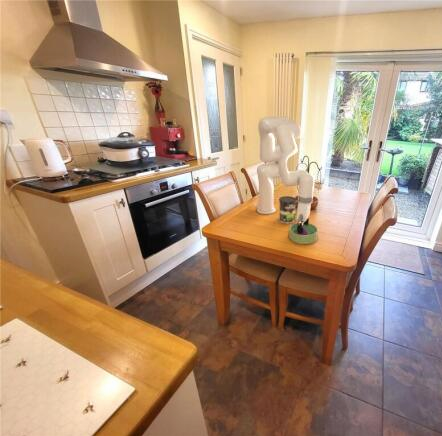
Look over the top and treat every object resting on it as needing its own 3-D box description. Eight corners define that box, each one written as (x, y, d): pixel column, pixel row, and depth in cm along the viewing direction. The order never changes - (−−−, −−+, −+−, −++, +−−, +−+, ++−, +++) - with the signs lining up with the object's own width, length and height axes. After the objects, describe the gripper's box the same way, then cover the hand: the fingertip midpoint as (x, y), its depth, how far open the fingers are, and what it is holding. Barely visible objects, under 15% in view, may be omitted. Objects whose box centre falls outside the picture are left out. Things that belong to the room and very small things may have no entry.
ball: (297, 239, 126) (295, 232, 123) (300, 233, 130) (298, 226, 127) (306, 240, 124) (304, 232, 121) (308, 234, 128) (307, 226, 125)
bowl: (284, 241, 123) (284, 232, 121) (294, 228, 136) (294, 220, 134) (312, 247, 119) (313, 238, 116) (320, 234, 132) (320, 225, 129)
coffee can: (298, 221, 145) (299, 200, 139) (283, 224, 140) (283, 203, 134) (290, 215, 153) (291, 195, 147) (276, 218, 149) (276, 197, 143)
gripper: (303, 192, 126) (301, 220, 134) (292, 203, 112) (290, 234, 119) (316, 194, 124) (313, 223, 132) (307, 206, 110) (304, 237, 117)
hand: (302, 228), depth 126 cm, fingers open, 9 cm apart
